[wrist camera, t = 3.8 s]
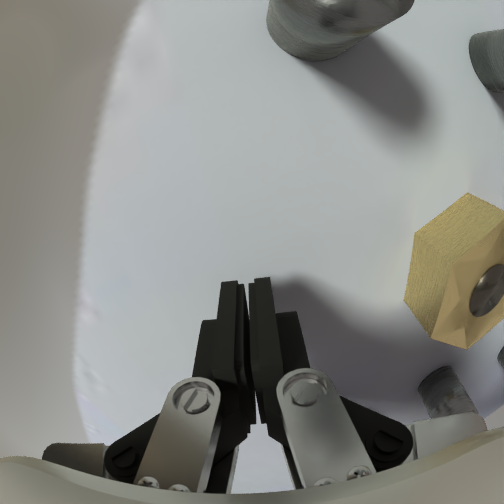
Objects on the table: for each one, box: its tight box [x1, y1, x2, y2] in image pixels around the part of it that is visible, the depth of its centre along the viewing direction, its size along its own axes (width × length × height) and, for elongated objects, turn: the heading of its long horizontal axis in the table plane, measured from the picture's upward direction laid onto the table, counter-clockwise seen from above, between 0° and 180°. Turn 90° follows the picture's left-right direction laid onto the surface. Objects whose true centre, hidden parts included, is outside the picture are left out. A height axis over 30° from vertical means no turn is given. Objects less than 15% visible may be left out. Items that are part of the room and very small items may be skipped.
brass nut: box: [404, 193, 504, 350], centre depth 10 cm, size 7×6×3 cm
